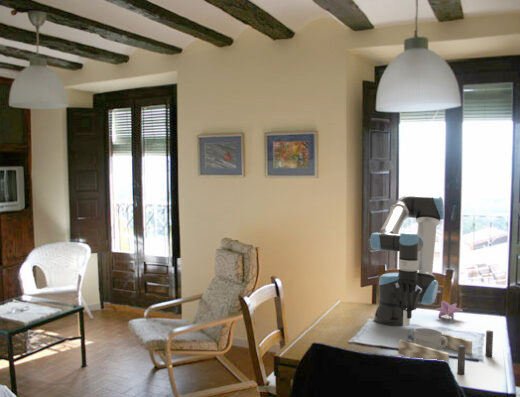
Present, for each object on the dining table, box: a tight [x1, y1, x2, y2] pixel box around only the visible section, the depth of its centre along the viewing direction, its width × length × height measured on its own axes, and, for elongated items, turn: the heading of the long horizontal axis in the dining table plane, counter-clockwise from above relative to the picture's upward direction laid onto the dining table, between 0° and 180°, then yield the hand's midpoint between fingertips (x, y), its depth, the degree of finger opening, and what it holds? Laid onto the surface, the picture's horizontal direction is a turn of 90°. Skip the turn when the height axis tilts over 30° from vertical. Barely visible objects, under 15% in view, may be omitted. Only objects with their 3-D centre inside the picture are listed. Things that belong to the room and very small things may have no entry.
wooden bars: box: [397, 329, 494, 376], centre depth 192 cm, size 27×27×10 cm
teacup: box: [413, 327, 448, 351], centre depth 196 cm, size 14×11×8 cm
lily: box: [434, 300, 464, 323], centre depth 239 cm, size 12×12×10 cm
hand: (406, 325), depth 203 cm, fingers closed
